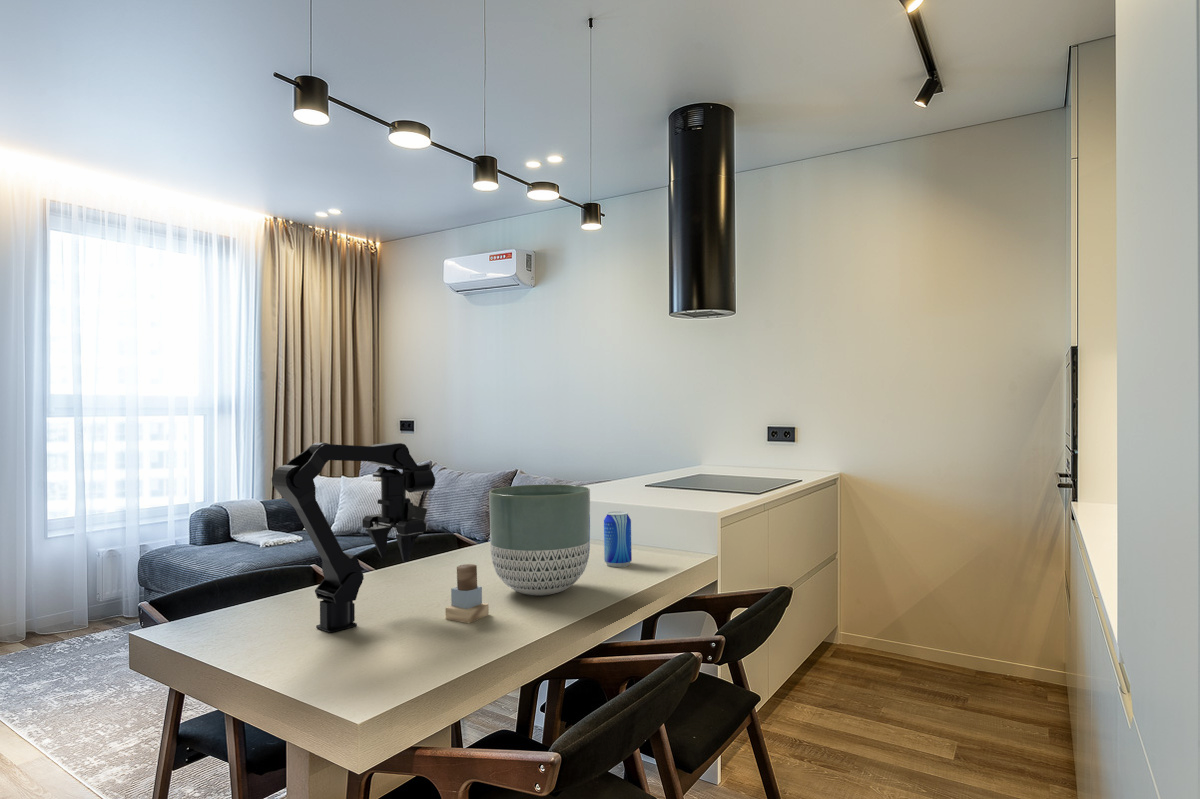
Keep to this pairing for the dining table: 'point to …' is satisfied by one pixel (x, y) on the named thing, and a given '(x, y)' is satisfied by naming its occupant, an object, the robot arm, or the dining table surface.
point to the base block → (467, 613)
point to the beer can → (617, 539)
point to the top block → (466, 598)
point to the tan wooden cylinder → (466, 577)
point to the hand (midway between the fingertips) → (394, 559)
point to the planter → (540, 536)
